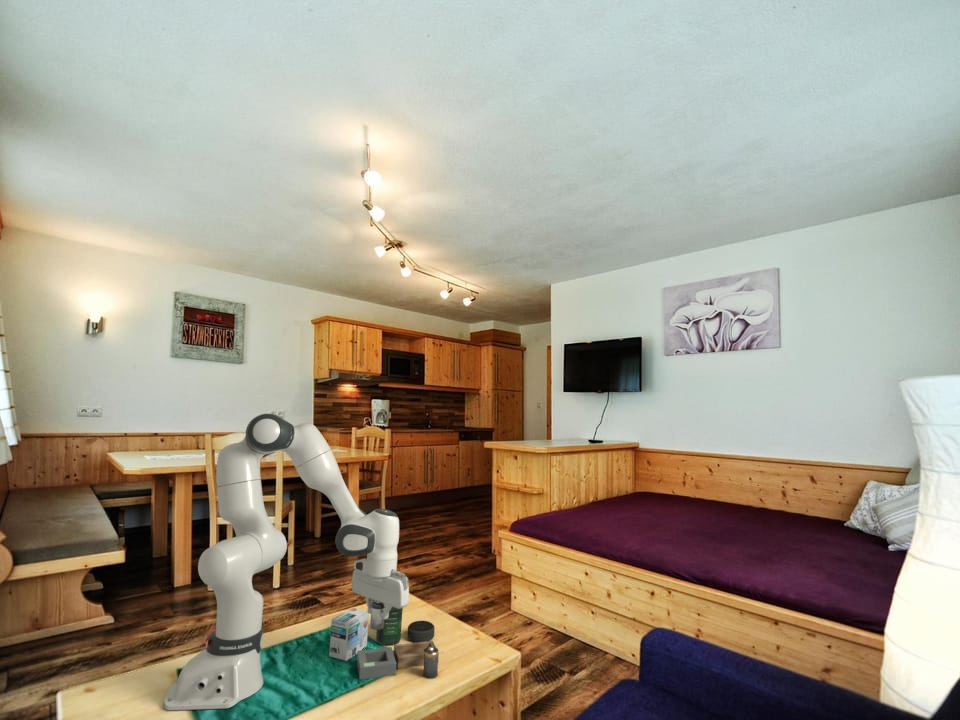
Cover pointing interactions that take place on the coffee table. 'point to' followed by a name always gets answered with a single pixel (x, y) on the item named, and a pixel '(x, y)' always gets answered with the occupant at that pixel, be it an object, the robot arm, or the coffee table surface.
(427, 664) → the copper cell
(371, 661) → the cradle
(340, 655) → the light bulb box
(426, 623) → the smart speaker
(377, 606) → the steel cell
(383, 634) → the coffee jar
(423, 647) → the trough
